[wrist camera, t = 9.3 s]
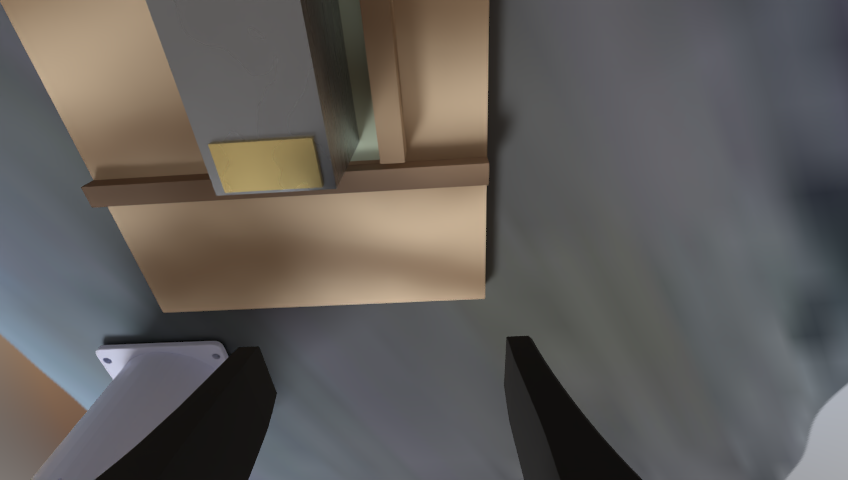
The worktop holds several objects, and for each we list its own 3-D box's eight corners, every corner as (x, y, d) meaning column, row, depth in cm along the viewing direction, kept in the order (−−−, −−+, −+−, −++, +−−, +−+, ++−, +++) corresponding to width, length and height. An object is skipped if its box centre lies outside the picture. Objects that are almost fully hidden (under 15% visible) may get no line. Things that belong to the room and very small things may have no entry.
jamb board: (482, 287, 23) (488, 317, 21) (172, 301, 24) (147, 331, 21) (487, -142, 13) (498, -168, 11) (-24, -94, 14) (-105, -111, 12)
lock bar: (210, -68, 14) (105, -99, 9) (326, -79, 14) (276, -115, 9) (268, 147, 18) (214, 197, 13) (359, 141, 17) (335, 190, 13)
